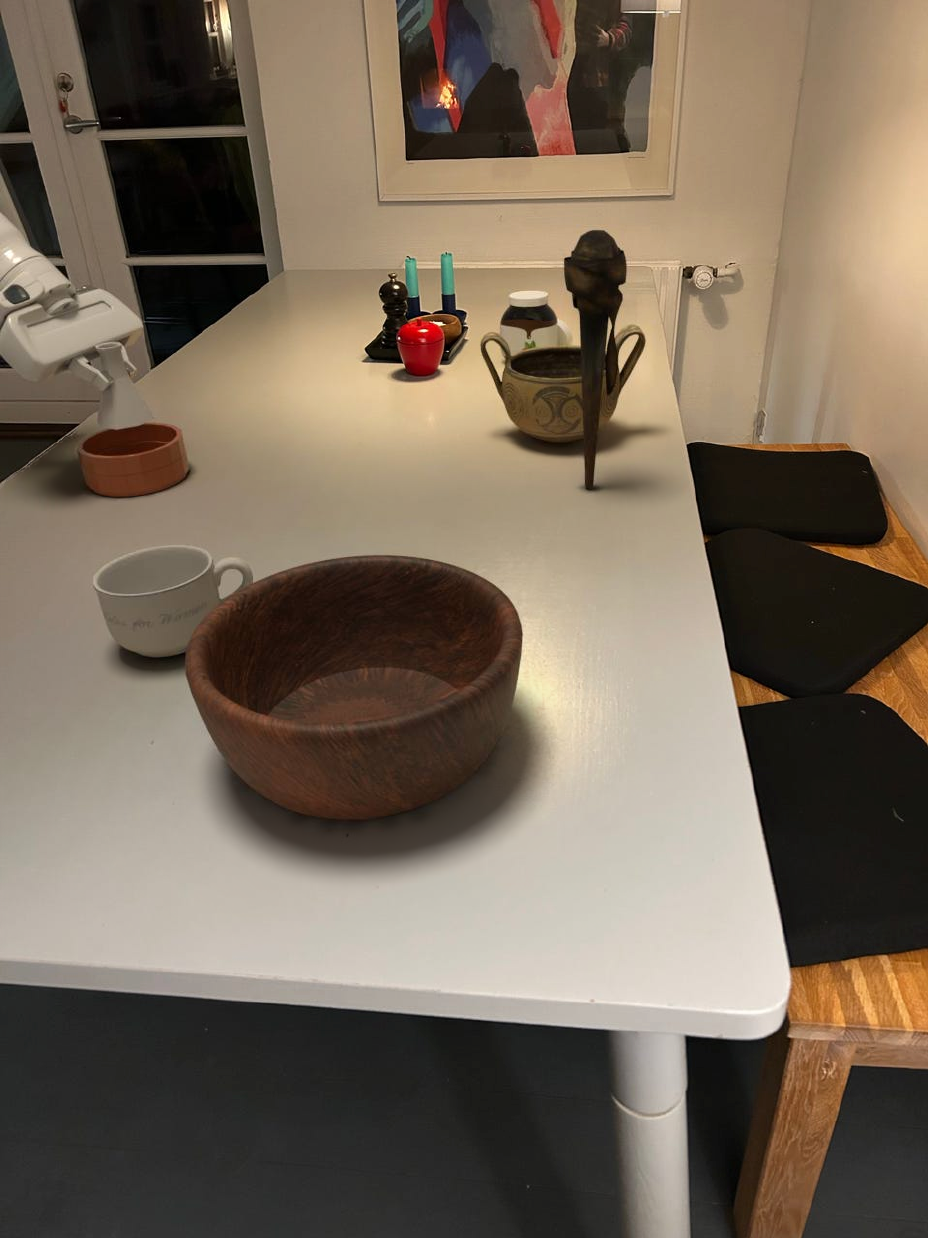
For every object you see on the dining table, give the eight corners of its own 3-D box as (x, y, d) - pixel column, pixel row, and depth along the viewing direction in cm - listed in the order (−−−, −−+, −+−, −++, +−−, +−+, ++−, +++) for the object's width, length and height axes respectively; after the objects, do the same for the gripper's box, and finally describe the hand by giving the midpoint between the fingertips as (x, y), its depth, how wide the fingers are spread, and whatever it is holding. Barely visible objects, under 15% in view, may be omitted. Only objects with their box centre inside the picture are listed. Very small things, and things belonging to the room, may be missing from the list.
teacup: (97, 674, 83) (74, 597, 79) (130, 613, 92) (111, 542, 88) (250, 666, 83) (235, 589, 79) (268, 606, 92) (255, 534, 88)
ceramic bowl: (632, 415, 138) (638, 312, 130) (646, 456, 123) (653, 343, 115) (484, 418, 139) (481, 317, 131) (481, 460, 125) (477, 348, 117)
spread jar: (496, 366, 164) (494, 298, 158) (513, 349, 173) (512, 285, 167) (562, 369, 160) (562, 300, 154) (575, 352, 169) (577, 286, 163)
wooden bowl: (521, 650, 84) (520, 549, 78) (527, 850, 62) (526, 730, 57) (251, 654, 85) (232, 555, 80) (166, 851, 63) (132, 734, 58)
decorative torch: (577, 502, 111) (584, 238, 96) (552, 483, 117) (554, 230, 101) (626, 492, 113) (640, 231, 98) (599, 473, 119) (608, 224, 103)
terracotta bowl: (72, 499, 119) (60, 459, 116) (107, 461, 130) (98, 424, 127) (174, 495, 118) (165, 455, 116) (200, 458, 130) (193, 420, 127)
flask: (165, 420, 120) (148, 343, 115) (113, 435, 116) (93, 356, 111) (138, 409, 125) (121, 334, 120) (88, 423, 121) (68, 346, 115)
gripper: (85, 299, 126) (159, 374, 127) (-31, 337, 109) (56, 422, 111) (103, 265, 122) (180, 343, 124) (-14, 300, 106) (75, 389, 108)
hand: (120, 381), depth 117 cm, fingers closed on flask, 3 cm apart
